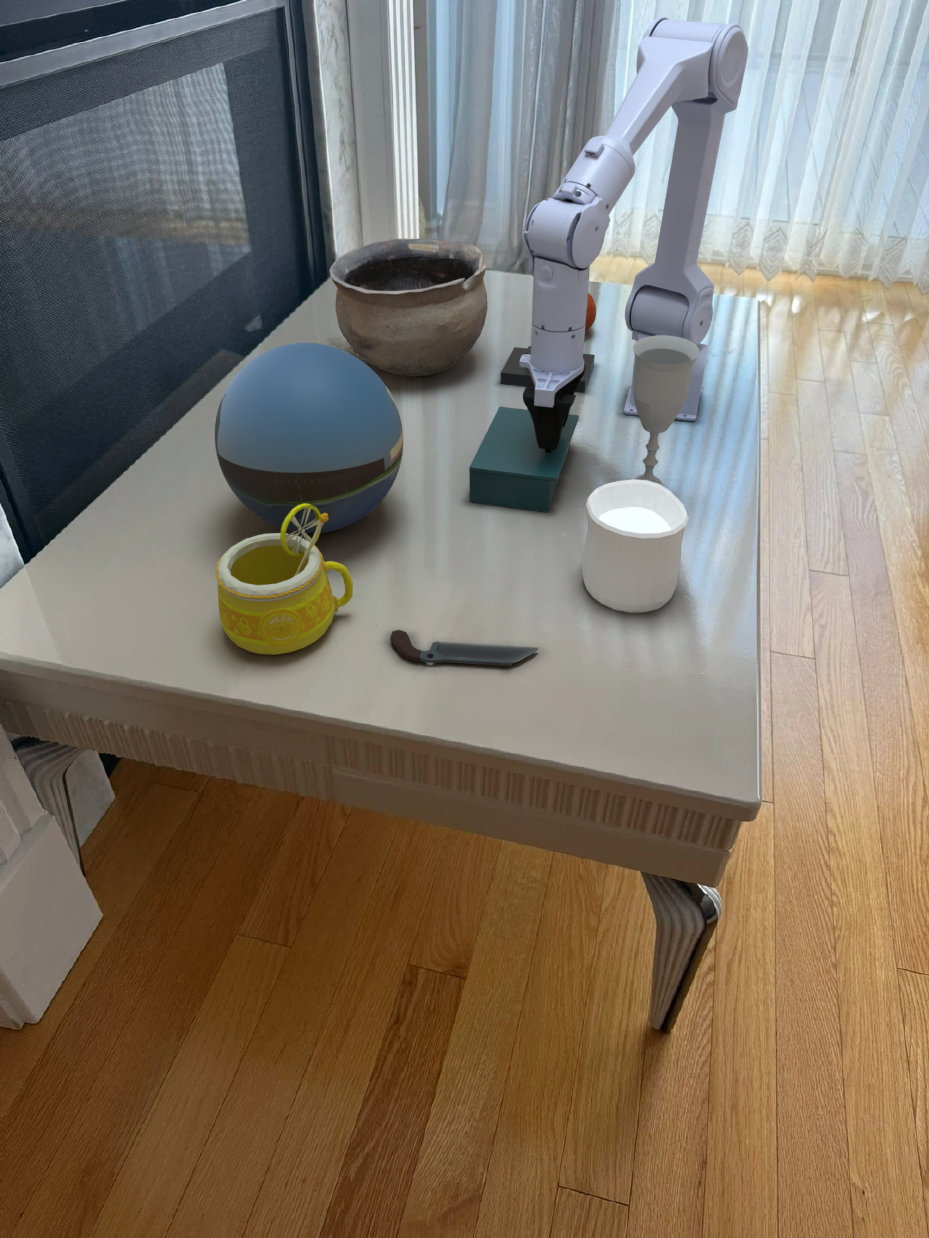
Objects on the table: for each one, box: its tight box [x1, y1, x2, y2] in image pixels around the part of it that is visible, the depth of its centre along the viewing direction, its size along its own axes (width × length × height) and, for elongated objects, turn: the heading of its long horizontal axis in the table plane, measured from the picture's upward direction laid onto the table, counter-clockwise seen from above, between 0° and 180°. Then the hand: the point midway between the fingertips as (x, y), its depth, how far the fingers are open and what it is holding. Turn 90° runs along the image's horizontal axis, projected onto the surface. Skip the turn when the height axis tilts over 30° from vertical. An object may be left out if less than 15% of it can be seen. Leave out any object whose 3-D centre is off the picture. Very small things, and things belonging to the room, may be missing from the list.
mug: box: [214, 503, 354, 655], centre depth 84 cm, size 13×11×12 cm
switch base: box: [500, 345, 596, 393], centre depth 129 cm, size 12×9×4 cm
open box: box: [468, 444, 571, 513], centre depth 107 cm, size 9×15×4 cm, turn 165°
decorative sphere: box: [214, 342, 404, 534], centre depth 95 cm, size 20×20×20 cm
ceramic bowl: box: [329, 238, 488, 377], centre depth 128 cm, size 22×22×15 cm
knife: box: [389, 629, 540, 667], centre depth 84 cm, size 14×4×1 cm, turn 84°
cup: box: [581, 478, 690, 614], centre depth 89 cm, size 10×10×10 cm
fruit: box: [585, 292, 597, 333], centre depth 138 cm, size 7×7×8 cm
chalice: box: [632, 335, 700, 487], centre depth 98 cm, size 7×7×18 cm
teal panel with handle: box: [468, 406, 580, 482], centre depth 105 cm, size 10×15×4 cm, turn 165°
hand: (552, 436), depth 105 cm, fingers closed on teal panel with handle, 5 cm apart
